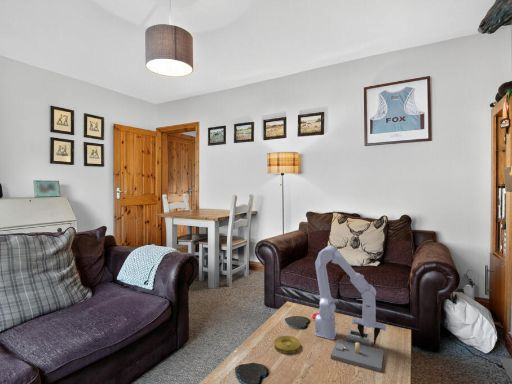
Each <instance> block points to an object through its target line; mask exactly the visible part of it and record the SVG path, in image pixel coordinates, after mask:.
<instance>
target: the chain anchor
mask: <svg viewBox="0 0 512 384" xmlns="http://www.w3.org/2000/svg"><path fill="white" fill-rule="evenodd" d="M343 349H345V350H348V348H347V347H344V345H342V344H338V343H337V346H336V350H339V351H343Z"/></svg>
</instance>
